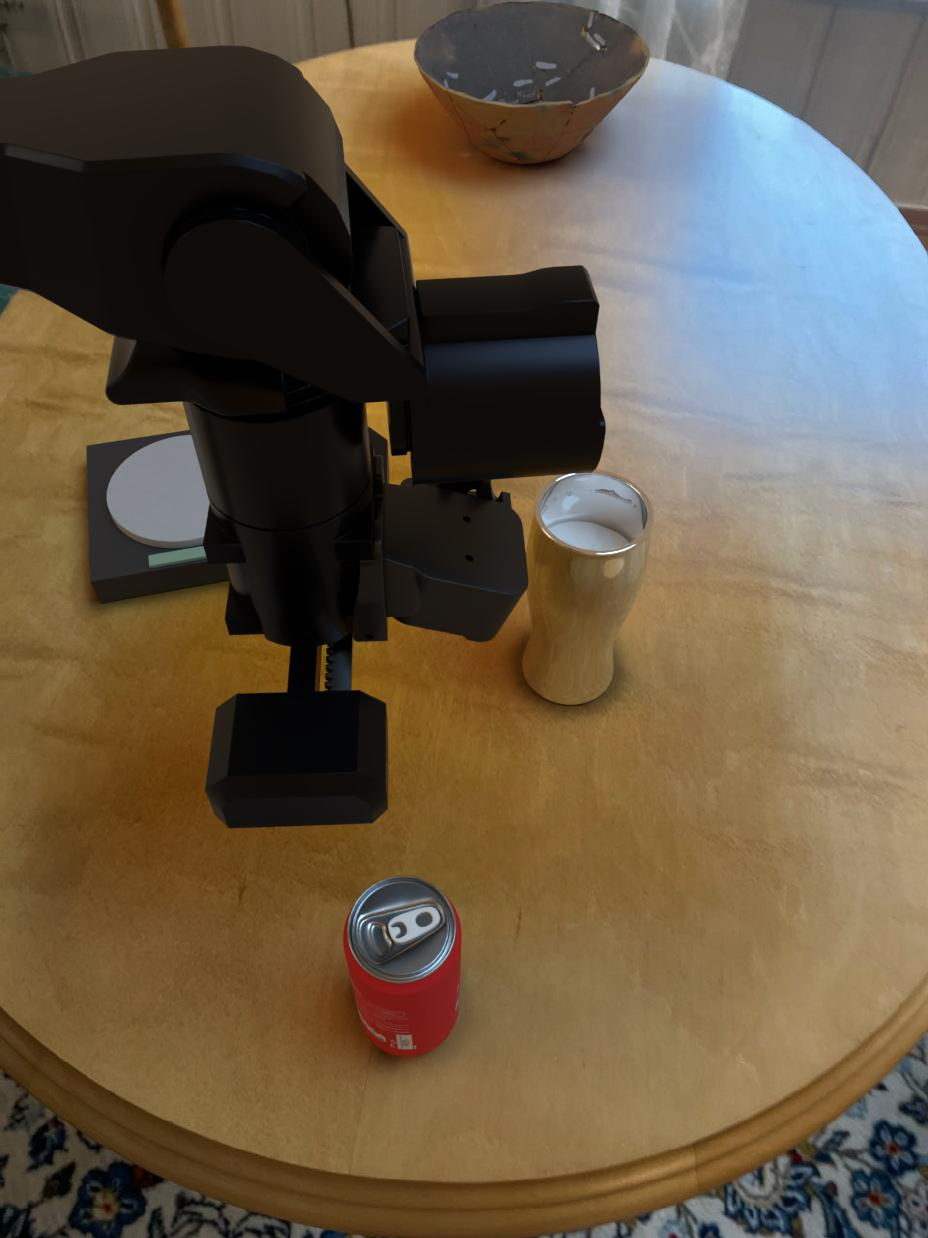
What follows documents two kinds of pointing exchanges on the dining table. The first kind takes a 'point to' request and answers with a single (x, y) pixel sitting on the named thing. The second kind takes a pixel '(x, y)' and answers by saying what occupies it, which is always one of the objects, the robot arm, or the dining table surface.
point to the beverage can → (404, 964)
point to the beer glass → (582, 580)
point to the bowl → (529, 74)
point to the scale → (147, 517)
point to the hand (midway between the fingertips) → (330, 714)
